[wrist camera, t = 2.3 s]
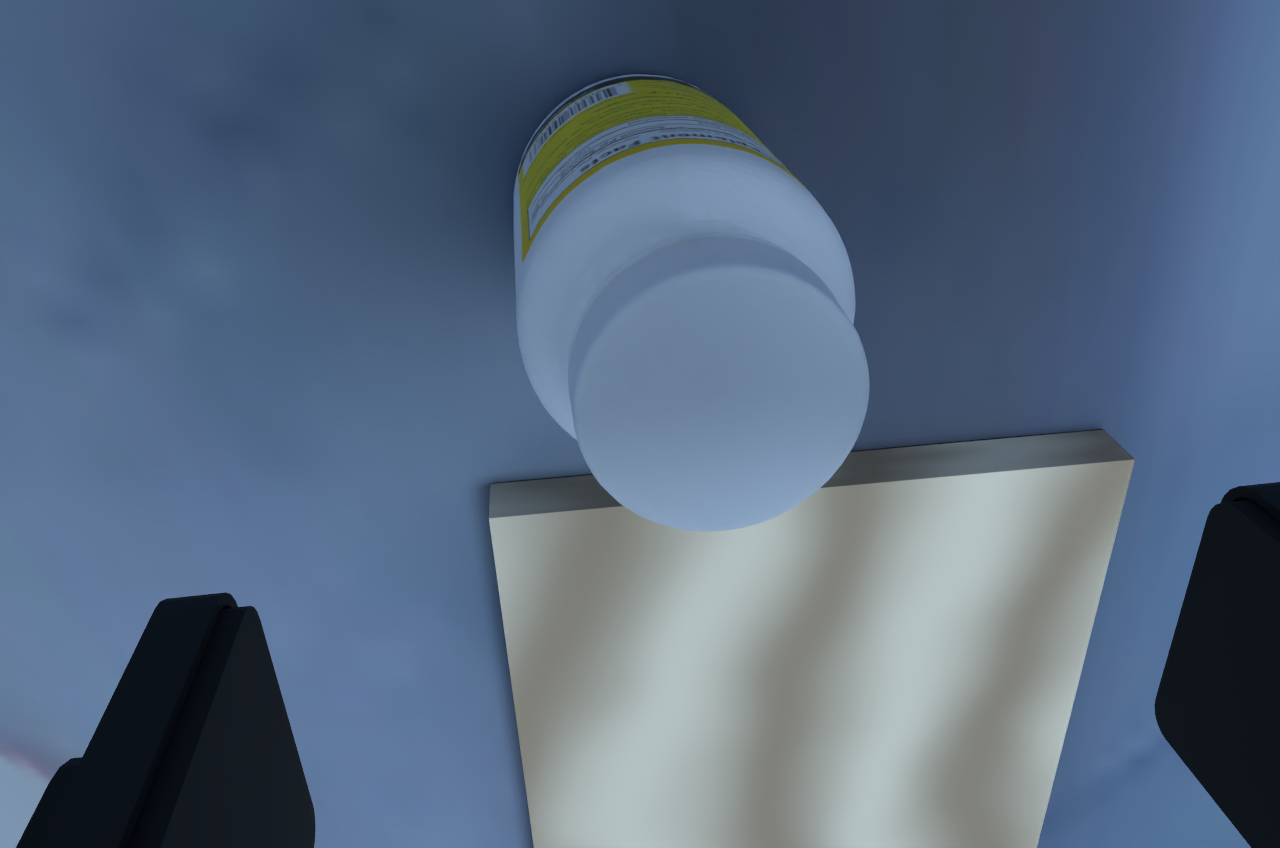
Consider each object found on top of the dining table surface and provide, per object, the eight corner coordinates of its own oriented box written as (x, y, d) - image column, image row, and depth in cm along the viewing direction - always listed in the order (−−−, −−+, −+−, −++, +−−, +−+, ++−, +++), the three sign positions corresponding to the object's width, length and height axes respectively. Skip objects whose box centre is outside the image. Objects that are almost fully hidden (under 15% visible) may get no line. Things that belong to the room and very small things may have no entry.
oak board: (1103, 429, 26) (1134, 459, 24) (1011, 832, 34) (1031, 871, 32) (490, 484, 24) (488, 518, 23) (544, 889, 32) (545, 931, 31)
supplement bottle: (726, 329, 23) (846, 596, 15) (496, 292, 22) (483, 556, 14) (792, 96, 21) (983, 254, 12) (536, 41, 20) (551, 173, 11)
